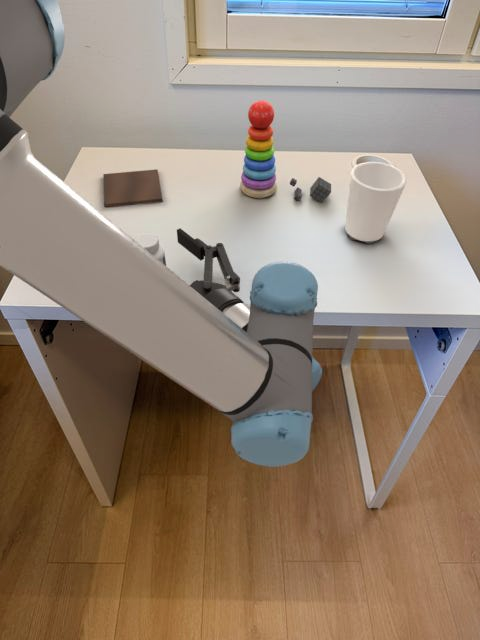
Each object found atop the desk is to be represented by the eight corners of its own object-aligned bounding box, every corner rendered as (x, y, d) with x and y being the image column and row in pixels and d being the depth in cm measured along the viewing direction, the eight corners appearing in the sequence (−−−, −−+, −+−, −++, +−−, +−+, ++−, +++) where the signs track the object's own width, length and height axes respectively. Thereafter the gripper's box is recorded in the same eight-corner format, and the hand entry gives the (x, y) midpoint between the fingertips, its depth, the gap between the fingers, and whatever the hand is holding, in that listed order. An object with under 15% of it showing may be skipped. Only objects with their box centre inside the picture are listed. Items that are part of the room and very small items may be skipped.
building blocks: (331, 192, 97) (299, 173, 95) (315, 210, 101) (284, 193, 99) (331, 184, 99) (299, 165, 97) (316, 202, 103) (285, 185, 101)
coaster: (104, 207, 97) (104, 204, 96) (104, 177, 105) (103, 173, 104) (162, 201, 99) (162, 198, 98) (157, 172, 106) (157, 169, 106)
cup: (399, 236, 92) (418, 178, 83) (365, 255, 88) (381, 196, 78) (361, 213, 97) (376, 155, 88) (328, 229, 93) (339, 171, 84)
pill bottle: (151, 266, 85) (144, 225, 78) (173, 276, 83) (169, 236, 76) (131, 282, 82) (123, 242, 75) (154, 294, 80) (148, 253, 73)
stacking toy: (282, 187, 103) (291, 100, 90) (264, 203, 99) (270, 115, 85) (252, 176, 106) (256, 90, 92) (233, 192, 101) (234, 104, 88)
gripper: (160, 384, 65) (84, 301, 75) (286, 301, 76) (205, 239, 87) (154, 350, 59) (72, 266, 70) (291, 266, 71) (203, 205, 81)
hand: (146, 251), depth 78 cm, fingers open, 13 cm apart
